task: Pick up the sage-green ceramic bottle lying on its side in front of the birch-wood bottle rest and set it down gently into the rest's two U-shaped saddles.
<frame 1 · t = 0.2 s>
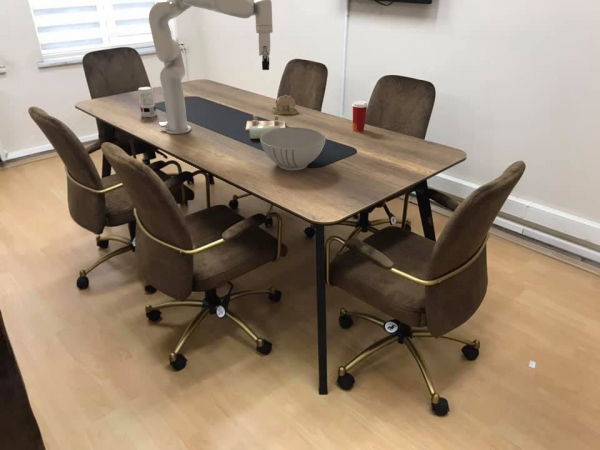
hand: (266, 67, 220), 31 cm above the table, tool pointing down, fingers open, 9 cm apart
bottle: (264, 138, 225), on the table
supplement can: (149, 116, 257), on the table
ceramic model: (285, 112, 263), on the table
bottle rest: (265, 126, 240), on the table
decorative bowl: (293, 165, 196), on the table
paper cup: (358, 130, 236), on the table
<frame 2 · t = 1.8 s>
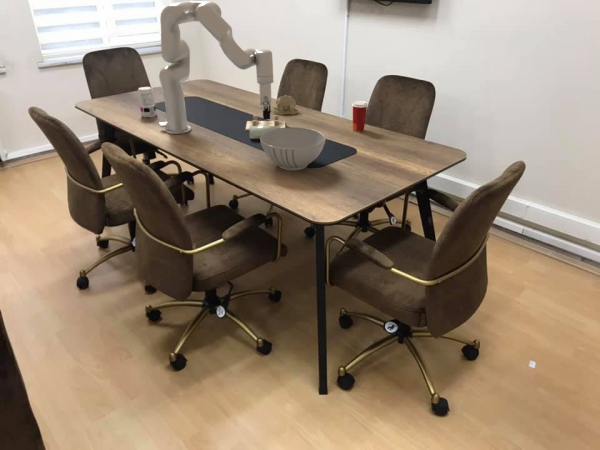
hand: (267, 116, 219), 11 cm above the table, tool pointing down, fingers open, 9 cm apart
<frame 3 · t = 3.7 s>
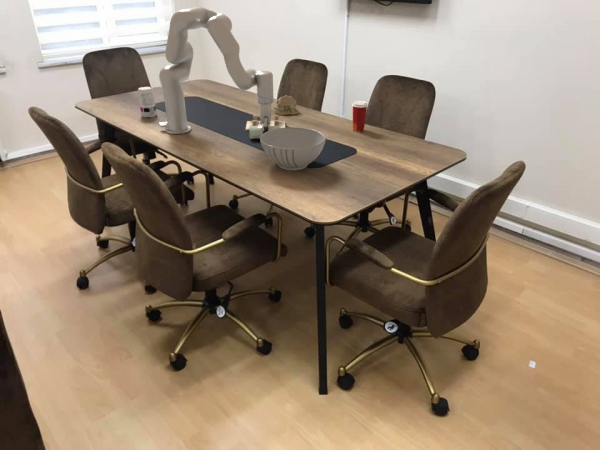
hand: (266, 136, 224), 1 cm above the table, tool pointing down, fingers closed on bottle, 6 cm apart
bottle: (264, 138, 225), on the table, touching gripper
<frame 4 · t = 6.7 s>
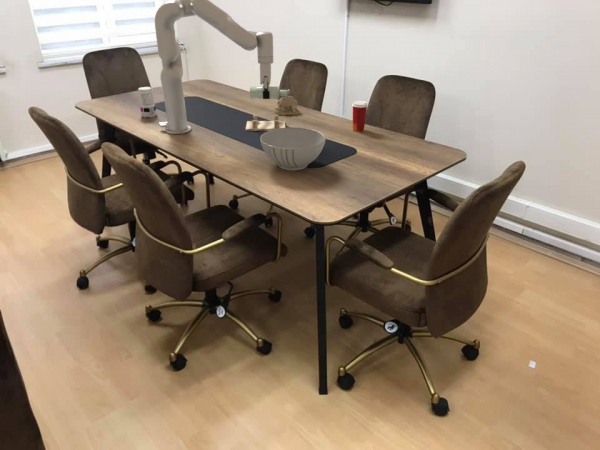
hand: (266, 96, 232), 15 cm above the table, tool pointing down, fingers closed on bottle, 6 cm apart
bottle: (264, 98, 233), point 14 cm above the table, touching gripper
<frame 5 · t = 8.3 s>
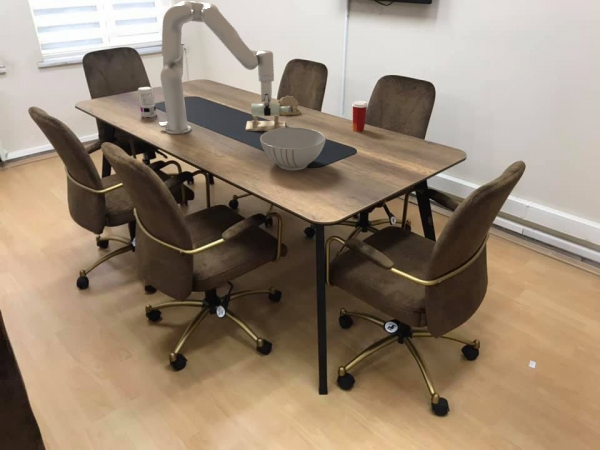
hand: (267, 113, 237), 7 cm above the table, tool pointing down, fingers closed on bottle, 6 cm apart
bottle: (265, 115, 237), point 6 cm above the table, touching gripper
when the fingers open (4 cm above the table, at t = 9.8 s): bottle stays where it is, resting on bottle rest.
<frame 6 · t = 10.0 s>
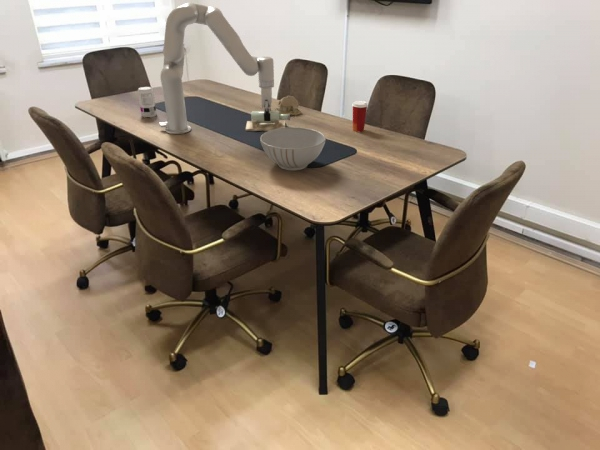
hand: (267, 118, 238), 4 cm above the table, tool pointing down, fingers open, 8 cm apart
bottle: (265, 122, 239), point 2 cm above the table, touching bottle rest
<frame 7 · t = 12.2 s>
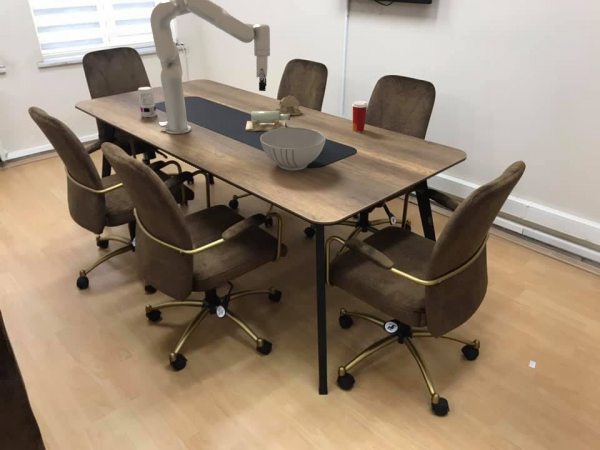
hand: (262, 88, 231), 19 cm above the table, tool pointing down, fingers open, 9 cm apart
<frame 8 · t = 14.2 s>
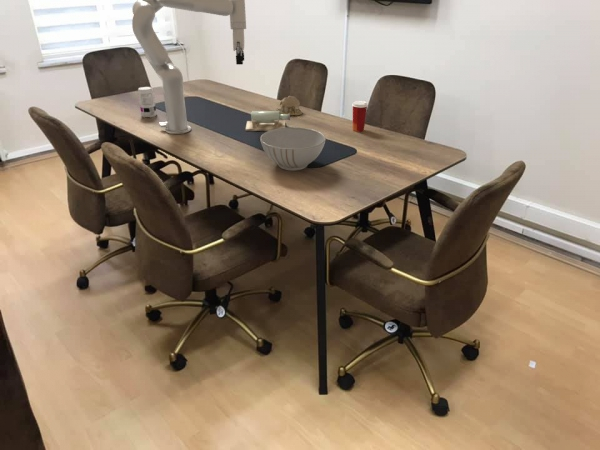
hand: (240, 62, 233), 30 cm above the table, tool pointing down, fingers open, 9 cm apart
at the end: bottle 0.1 cm off-centre on the bottle rest, point 2.0 cm above the bottle rest's base; bottle touching bottle rest; the gripper is holding nothing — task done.
